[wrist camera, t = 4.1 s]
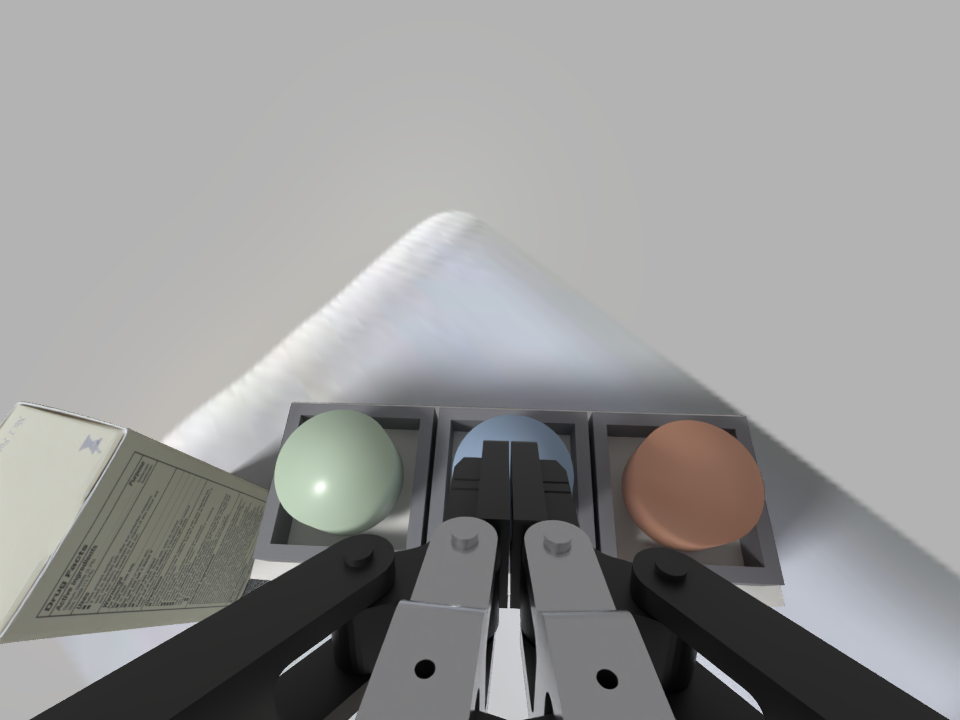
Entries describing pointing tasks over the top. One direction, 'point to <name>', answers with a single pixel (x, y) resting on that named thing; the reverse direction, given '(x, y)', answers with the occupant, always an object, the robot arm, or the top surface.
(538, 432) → the slate blue button
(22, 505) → the skincare box
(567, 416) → the button console
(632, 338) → the top surface
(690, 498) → the terracotta button
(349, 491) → the sage button
